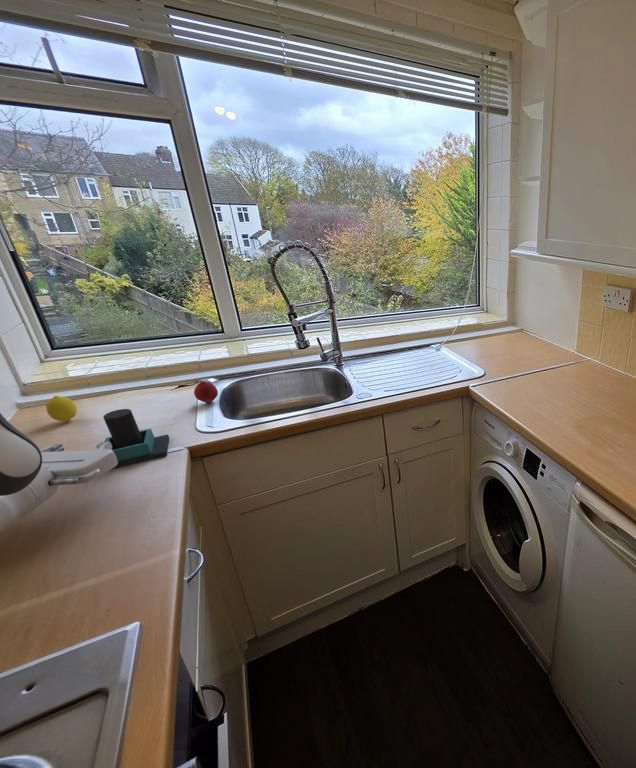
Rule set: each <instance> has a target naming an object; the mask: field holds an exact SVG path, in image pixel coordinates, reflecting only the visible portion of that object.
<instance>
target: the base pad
mask: <svg viewBox="0 0 636 768" xmlns="http://www.w3.org/2000/svg"><path fill="white" fill-rule="evenodd" d="M139 431H140V434H141V436H142V439H143V441H144V443H141V444H137V445H132V446H128V447H123V448H119V449H117V448H116V445H115V443H114V441H113V438H112V436H108V437H106V438H105V439H104V442H110V443H111V445H112V449H111V450H113V452H114V453H115V455H116V458H117V461H118V464H117V465H116V466H115V467H114V468H112V469H111V470H114V469H118V468H123V467H126V466H131V465H134V464H138V463H142V462H143V463H144V462H147V461H152V460H155V459H159V458H164V457H167V456H168V452H169V443H170V436H169V434H164V435H163V434H162V435H159V436H158V435H157V436H154V433H153V430H152V428H146V429H141V430H139Z"/></svg>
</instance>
